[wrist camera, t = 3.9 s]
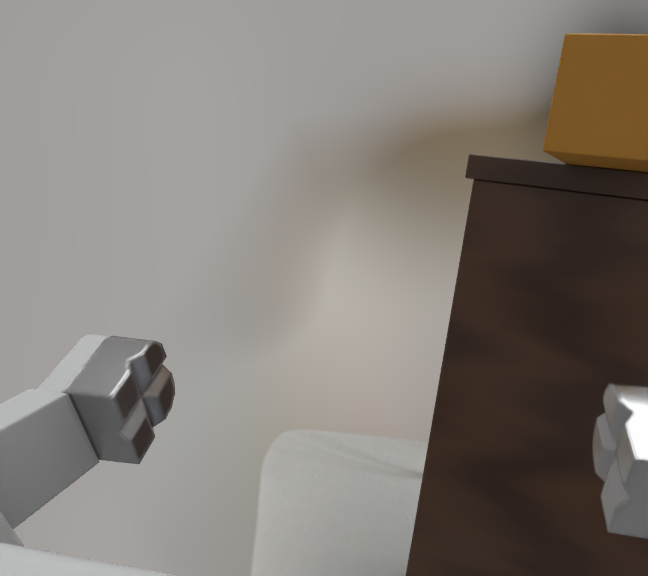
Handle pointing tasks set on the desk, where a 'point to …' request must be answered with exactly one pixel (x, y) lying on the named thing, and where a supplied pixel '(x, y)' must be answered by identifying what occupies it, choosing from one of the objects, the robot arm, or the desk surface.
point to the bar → (601, 102)
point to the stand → (535, 373)
